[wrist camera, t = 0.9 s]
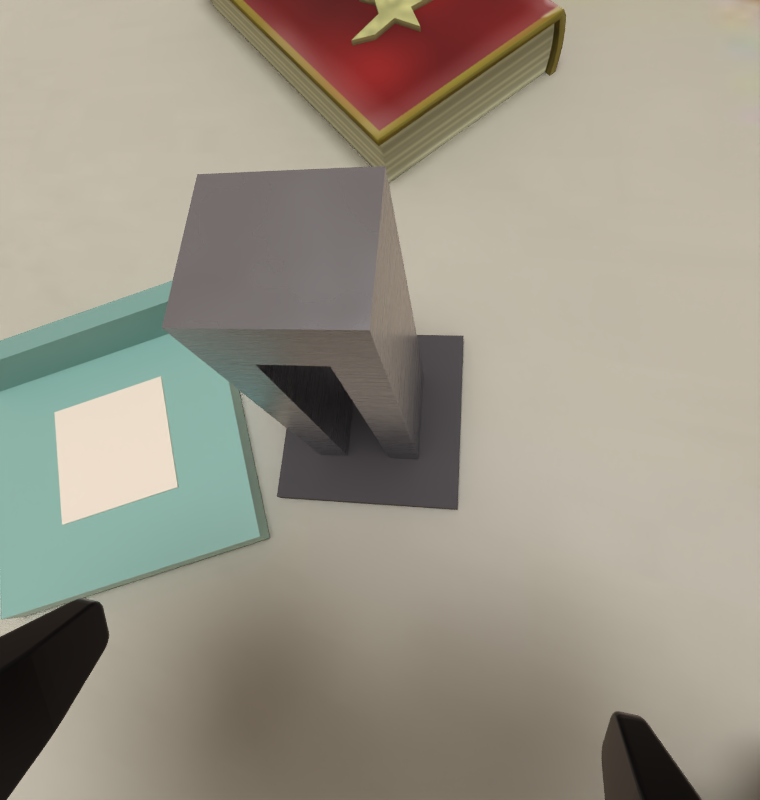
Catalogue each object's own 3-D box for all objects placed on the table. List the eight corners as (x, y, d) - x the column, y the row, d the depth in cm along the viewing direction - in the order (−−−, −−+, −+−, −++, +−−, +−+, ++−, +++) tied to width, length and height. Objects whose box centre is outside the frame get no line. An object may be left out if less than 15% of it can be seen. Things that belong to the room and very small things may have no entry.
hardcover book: (348, -78, 36) (335, -158, 32) (556, 77, 29) (571, -2, 25) (209, 13, 35) (177, -58, 31) (388, 196, 28) (376, 135, 24)
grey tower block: (418, 459, 22) (369, 330, 10) (319, 454, 23) (161, 328, 11) (423, 374, 23) (385, 166, 11) (329, 372, 24) (197, 174, 12)
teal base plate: (269, 537, 23) (236, 532, 19) (23, 616, 23) (-52, 625, 20) (222, 312, 27) (188, 275, 23) (14, 383, 27) (-50, 358, 24)
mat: (457, 509, 22) (457, 508, 21) (280, 497, 23) (277, 496, 23) (463, 339, 24) (463, 335, 24) (302, 337, 25) (299, 333, 25)
